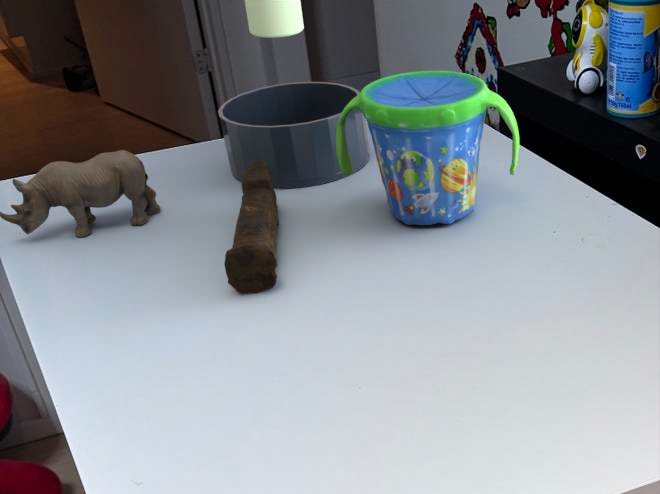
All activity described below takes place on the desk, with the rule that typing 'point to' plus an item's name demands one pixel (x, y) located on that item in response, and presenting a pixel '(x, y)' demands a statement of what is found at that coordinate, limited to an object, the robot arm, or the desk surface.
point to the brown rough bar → (254, 234)
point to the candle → (274, 17)
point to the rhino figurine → (84, 191)
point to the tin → (293, 132)
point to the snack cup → (427, 141)
